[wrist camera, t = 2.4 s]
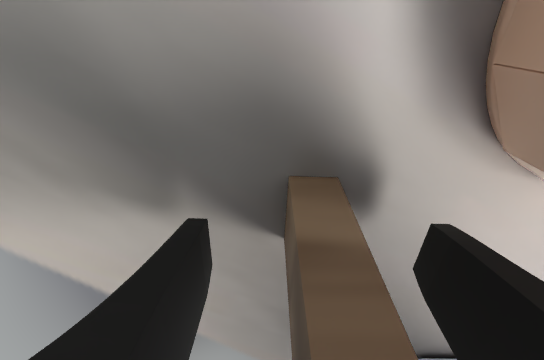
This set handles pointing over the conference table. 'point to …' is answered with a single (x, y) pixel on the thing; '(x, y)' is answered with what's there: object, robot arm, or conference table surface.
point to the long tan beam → (335, 281)
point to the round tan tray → (518, 82)
